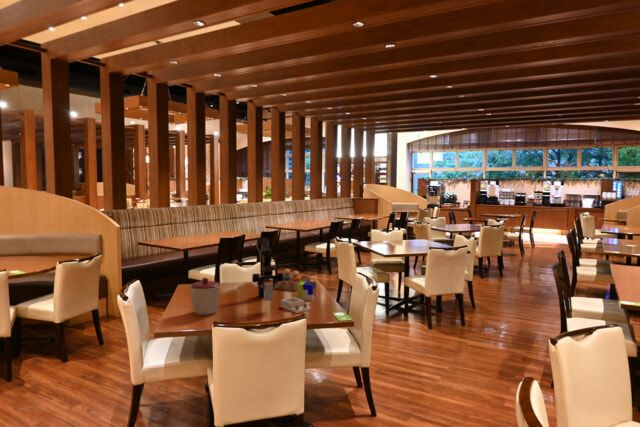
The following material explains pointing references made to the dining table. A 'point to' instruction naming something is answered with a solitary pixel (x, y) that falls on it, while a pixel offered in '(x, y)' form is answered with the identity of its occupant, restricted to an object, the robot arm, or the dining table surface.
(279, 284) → the bolt corral
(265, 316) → the dining table surface
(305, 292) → the puzzle toy
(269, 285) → the grey tall block
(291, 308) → the chassis
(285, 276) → the toy bolts
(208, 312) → the canister
